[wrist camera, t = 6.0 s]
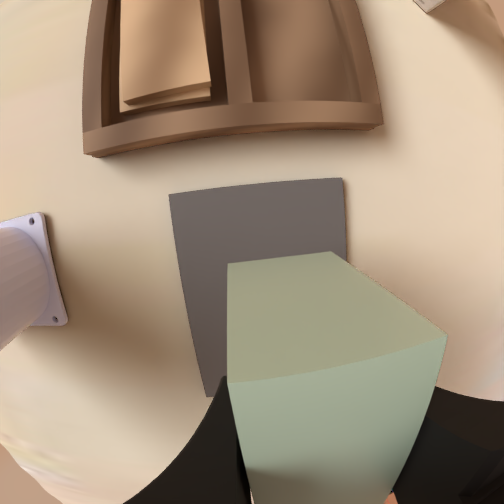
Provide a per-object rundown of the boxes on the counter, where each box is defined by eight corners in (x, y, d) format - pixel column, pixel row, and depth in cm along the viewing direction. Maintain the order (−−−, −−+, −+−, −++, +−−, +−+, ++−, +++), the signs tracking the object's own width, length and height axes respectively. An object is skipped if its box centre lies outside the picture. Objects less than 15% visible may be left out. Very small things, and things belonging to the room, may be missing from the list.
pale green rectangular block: (249, 418, 13) (264, 540, 6) (227, 263, 11) (227, 383, 4) (328, 404, 13) (376, 514, 6) (331, 251, 11) (447, 334, 4)
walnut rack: (97, 157, 15) (80, 154, 13) (104, -3, 12) (93, -18, 10) (368, 130, 16) (386, 124, 14) (333, -23, 13) (343, -39, 11)
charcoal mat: (206, 392, 19) (206, 397, 19) (170, 194, 16) (168, 194, 16) (340, 373, 20) (342, 377, 19) (339, 177, 17) (342, 177, 16)
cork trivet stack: (125, 115, 14) (113, 108, 12) (128, 1, 12) (120, -13, 10) (213, 100, 14) (211, 90, 13) (204, -14, 12) (203, -30, 11)
